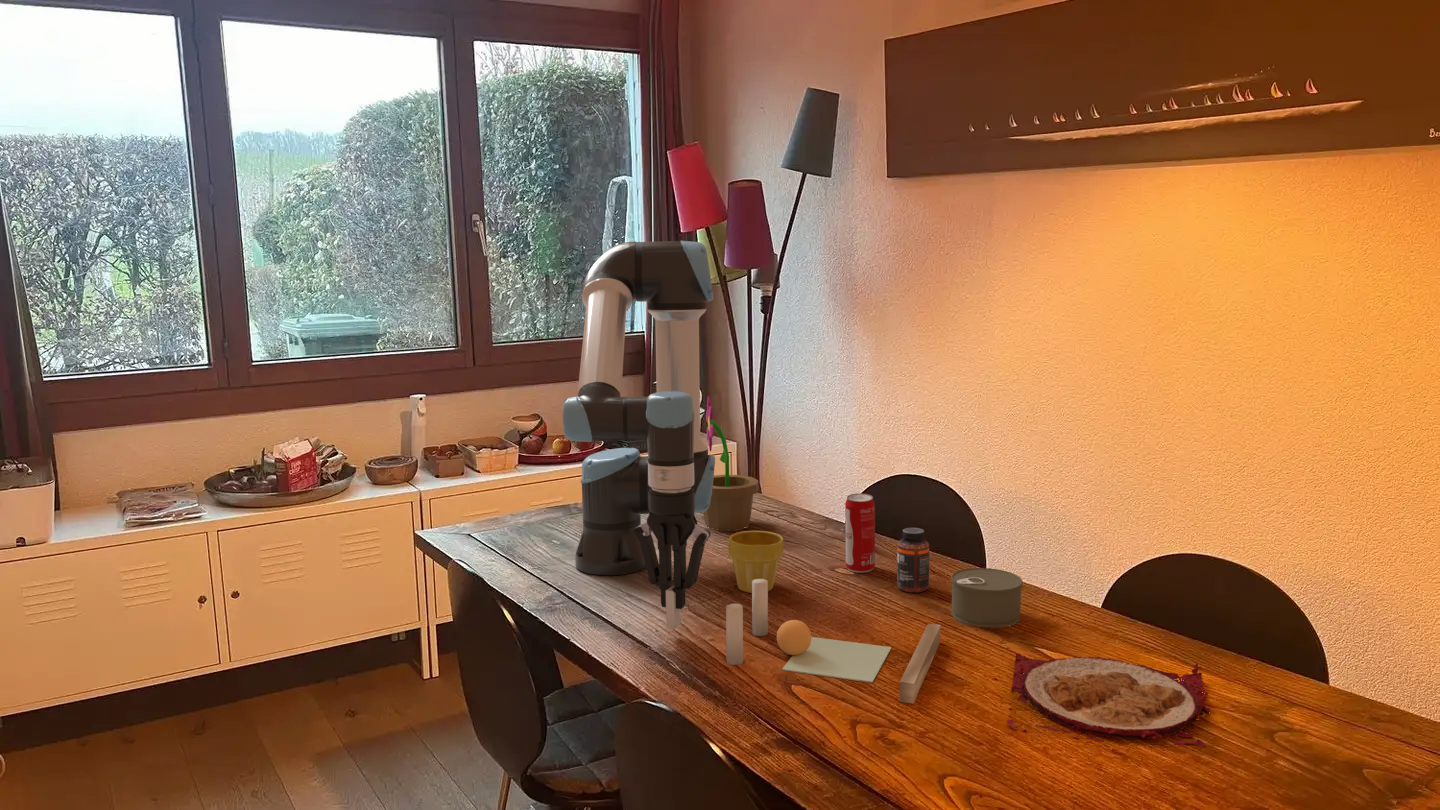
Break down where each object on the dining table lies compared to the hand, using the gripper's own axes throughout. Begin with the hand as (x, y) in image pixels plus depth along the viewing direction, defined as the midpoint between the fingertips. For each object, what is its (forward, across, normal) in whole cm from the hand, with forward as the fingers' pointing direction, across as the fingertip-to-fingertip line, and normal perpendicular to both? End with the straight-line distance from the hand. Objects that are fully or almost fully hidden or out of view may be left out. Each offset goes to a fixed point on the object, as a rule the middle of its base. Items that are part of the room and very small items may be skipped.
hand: (673, 625), depth 175 cm
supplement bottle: (+2, +33, +37) cm, 50 cm away
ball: (-1, +21, 0) cm, 21 cm away
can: (+2, +48, +27) cm, 55 cm away
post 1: (+2, +13, -6) cm, 15 cm away
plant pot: (+2, +5, +28) cm, 29 cm away
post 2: (+2, +13, +6) cm, 15 cm away
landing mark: (+2, +28, 0) cm, 28 cm away
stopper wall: (+2, +41, 0) cm, 41 cm away
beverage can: (+2, +21, +45) cm, 50 cm away
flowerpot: (+2, -15, +67) cm, 69 cm away
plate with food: (+3, +68, -3) cm, 68 cm away
